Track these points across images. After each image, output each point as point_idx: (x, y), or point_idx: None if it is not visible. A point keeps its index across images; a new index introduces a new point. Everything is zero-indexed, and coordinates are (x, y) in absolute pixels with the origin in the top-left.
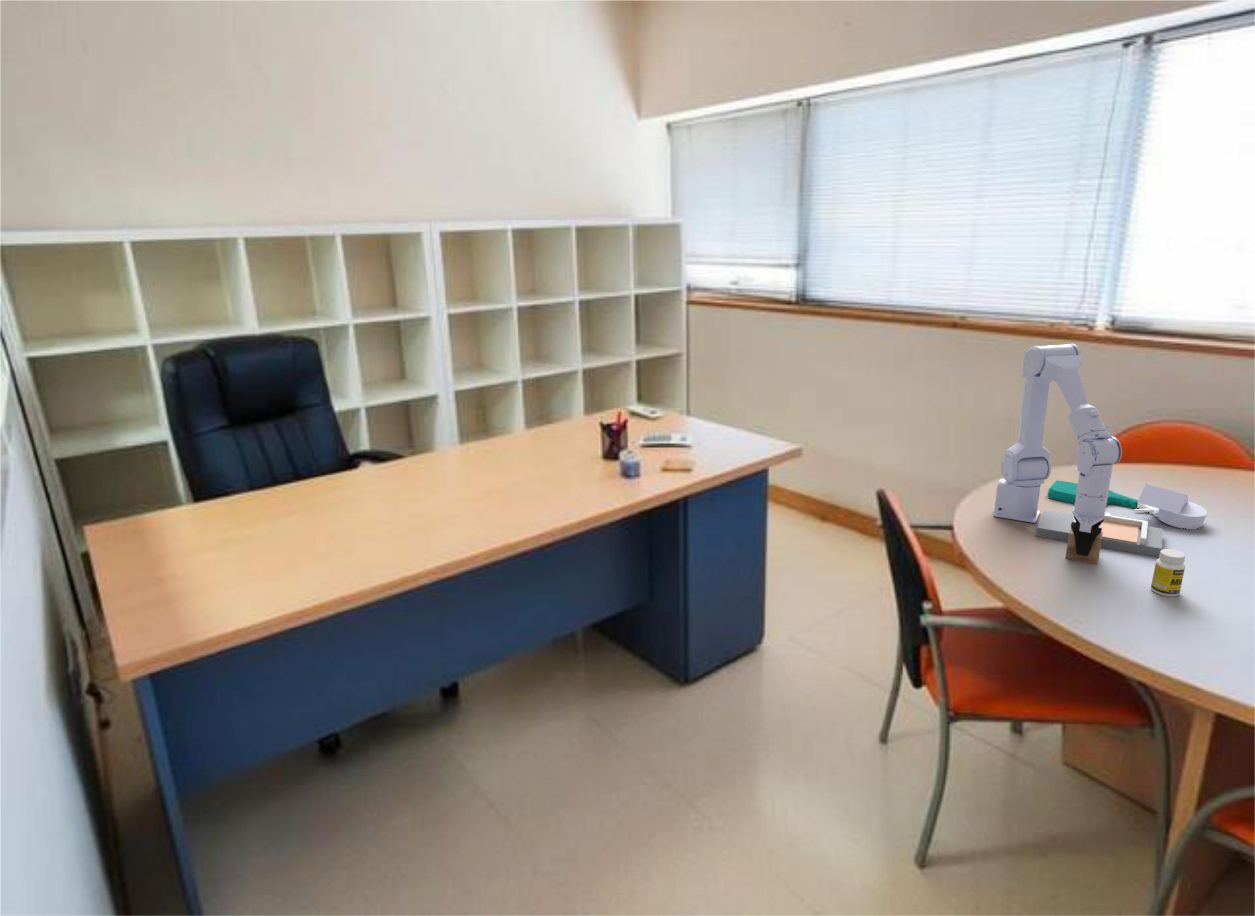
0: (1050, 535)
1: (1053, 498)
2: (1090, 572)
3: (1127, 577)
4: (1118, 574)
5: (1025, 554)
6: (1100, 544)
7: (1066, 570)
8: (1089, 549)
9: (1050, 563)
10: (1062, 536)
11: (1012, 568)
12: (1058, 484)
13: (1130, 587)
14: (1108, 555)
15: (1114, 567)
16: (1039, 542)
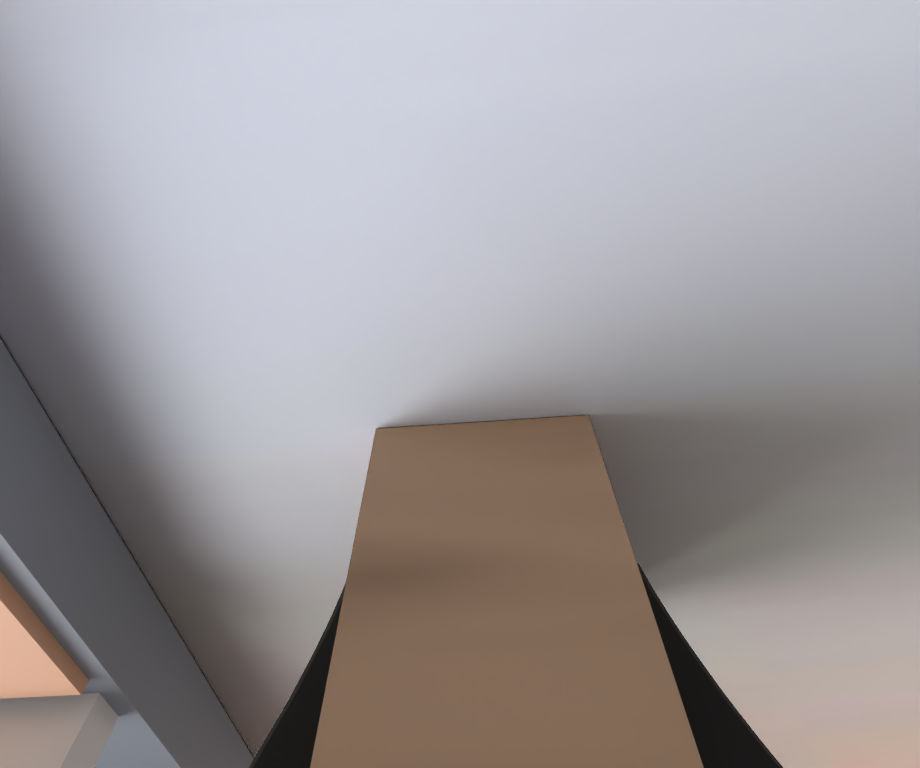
0: (219, 736)
1: None
2: (835, 435)
3: (896, 48)
4: (813, 180)
5: None
6: (666, 655)
7: (840, 575)
8: (685, 643)
9: (728, 657)
10: (185, 701)
11: (888, 760)
12: None
13: None
14: (250, 358)
15: (590, 254)
16: None
